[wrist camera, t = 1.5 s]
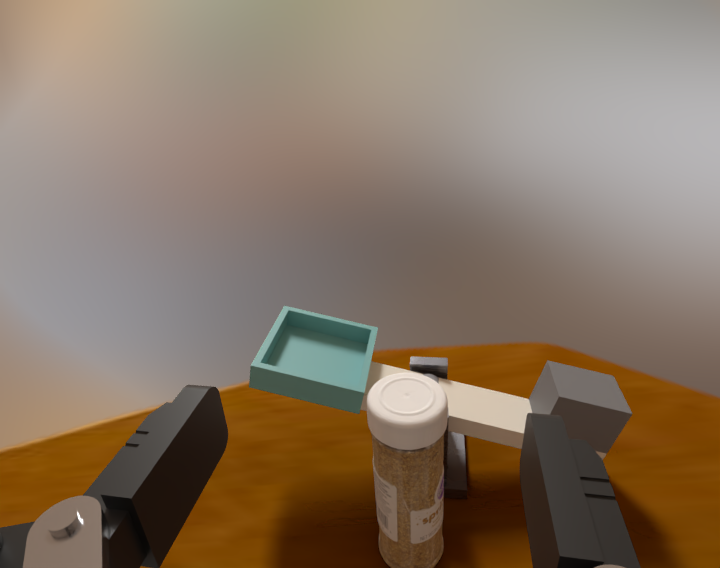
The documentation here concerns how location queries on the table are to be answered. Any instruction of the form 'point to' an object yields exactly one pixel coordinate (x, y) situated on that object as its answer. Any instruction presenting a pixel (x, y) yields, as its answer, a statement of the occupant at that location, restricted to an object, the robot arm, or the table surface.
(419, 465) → the sprinkles bottle
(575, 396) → the beam
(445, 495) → the pivot stand
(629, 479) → the table surface
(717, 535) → the table surface
